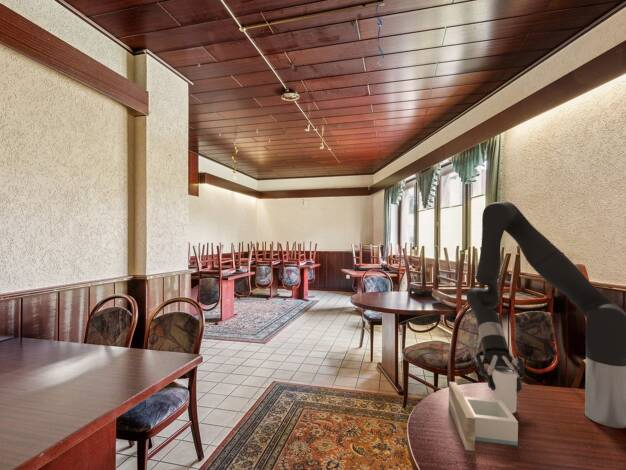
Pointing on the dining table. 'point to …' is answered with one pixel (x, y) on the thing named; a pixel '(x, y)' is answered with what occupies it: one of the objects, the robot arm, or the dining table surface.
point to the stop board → (462, 416)
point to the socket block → (493, 421)
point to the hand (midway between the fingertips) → (505, 390)
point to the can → (505, 386)
